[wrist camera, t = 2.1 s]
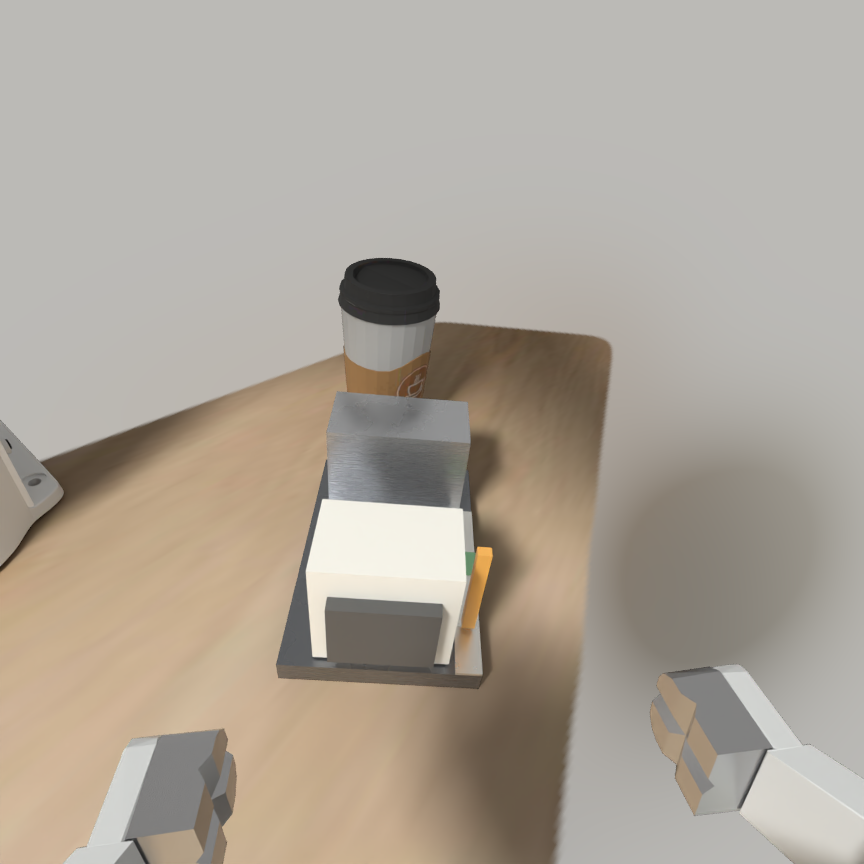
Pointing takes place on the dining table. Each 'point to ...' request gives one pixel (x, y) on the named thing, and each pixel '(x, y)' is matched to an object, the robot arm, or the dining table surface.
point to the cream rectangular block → (390, 583)
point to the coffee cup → (388, 326)
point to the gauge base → (393, 484)
